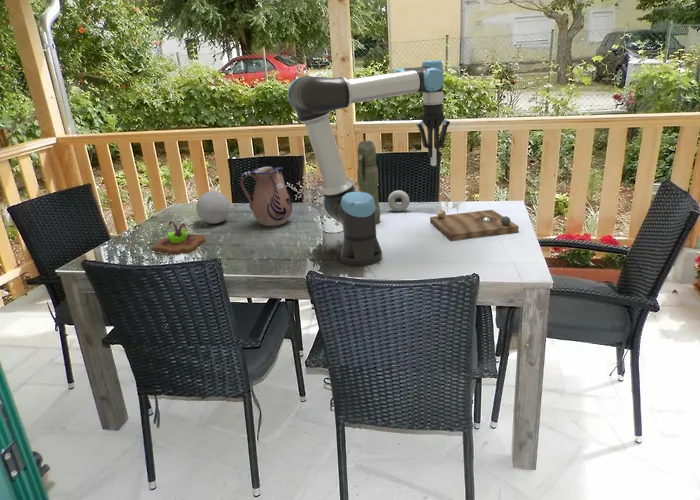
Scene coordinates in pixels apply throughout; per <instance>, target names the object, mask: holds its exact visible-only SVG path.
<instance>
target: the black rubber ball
mask: <svg viewBox="0 0 700 500" xmlns="http://www.w3.org/2000/svg"><path fill="white" fill-rule="evenodd" d="M510 221H511V218H510V217H509V216H503V218H502V219H501V223H502V224H503V225H508V224H509V223H510Z"/></svg>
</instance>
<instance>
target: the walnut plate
mask: <svg viewBox="0 0 700 500" xmlns="http://www.w3.org/2000/svg"><path fill="white" fill-rule="evenodd" d="M485 217H488V218H490V220H491V221H482V219H483V218H485ZM503 217H504V216H503V215H502V214H500V213H498V212H497V211H495V210H493V209H485V210H477V211H469V212H461V213H454V214H453V213H451V214H446V215H445V217H444V218H439V217H438V215H435V216H430V217H429V223H430V224H431V225H432V226H433V227H434V228H436V230H438V231H439V232H440V233H441V234H442V235H443V236H444V237H445V238H446V239H448V241H449V242H452V241H459V240H467V239H468V240H469V239H476V238H482V237H491V236H498V235H506V234H508V235H509V234H515V233H519V229H520V228H519V225H517V224H516V223H515V222H513V221H511V220H510V223H509V224H508V225H503V224H502V223H501V219H502V218H503Z"/></svg>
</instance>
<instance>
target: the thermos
mask: <svg viewBox="0 0 700 500" xmlns="http://www.w3.org/2000/svg"><path fill="white" fill-rule="evenodd" d="M356 151H357V166H358V168H357V171H356V173H357V184H358V187H359V190H360V191H361V192H362V193H364V192H365V193H368V194H370V195H371V196H372V197H373V198H374V202H375V217H376V225H379V224H380V223H381V206H380V203H379V189H378V188H379V187H378V185H379V170H378V167H377V162H376V160H377V155H376V154H377V153H376V151H377V150H376V145H375V144H374V142H373V141H371V140H364V141H363V140H362V141H359V143H358V145H357V150H356ZM359 190H358V191H359ZM360 191H359V192H360Z"/></svg>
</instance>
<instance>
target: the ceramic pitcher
mask: <svg viewBox="0 0 700 500" xmlns="http://www.w3.org/2000/svg"><path fill="white" fill-rule="evenodd" d="M283 170H284V167H279V166H277V167H273V166H263V167H260V168H255V169H254V170H252V171H246V172H244V173H242V174H241V176H240V178H239V179H240V180H239V182H240V183H239V184H240V187H241V189H242V191H243V194H244V195H245V197H246V198H247V200H248V202H249V209H250V210H251V212H252V214H253V217H254V218H255V219H256V221H258V223H259V224H261V225H263V226H266V227H277V226H282V225H283V224H286V222H287V221H288V220H289V218H290V217H291V216H292V212H293V203H292V200H291V197H290V193H289V190H288V188H287V185H286V182H285V179H284V174H283V173H284V171H283ZM247 177H252V178H253V179H254V181H255V184H254V189H253V194H252V195H250V193H249V192H248V190H247V189H246V187H245V182H244V181H245V179H246V178H247Z"/></svg>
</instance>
